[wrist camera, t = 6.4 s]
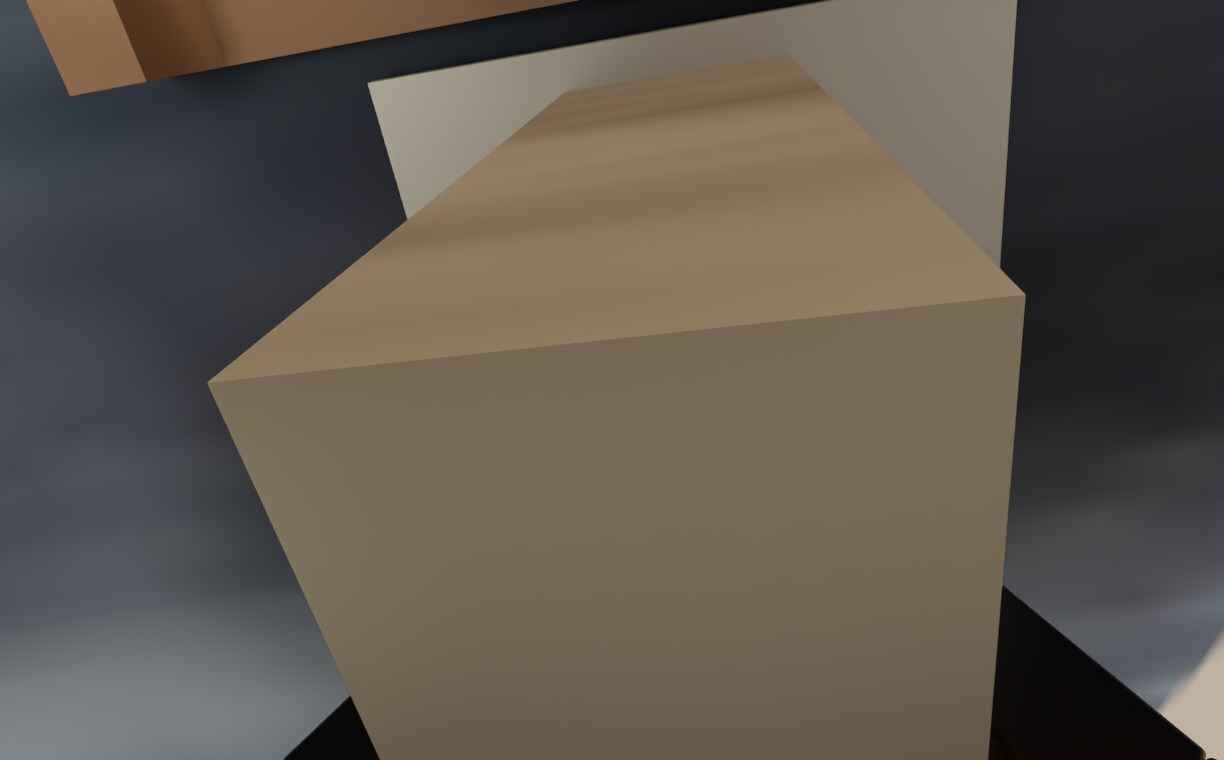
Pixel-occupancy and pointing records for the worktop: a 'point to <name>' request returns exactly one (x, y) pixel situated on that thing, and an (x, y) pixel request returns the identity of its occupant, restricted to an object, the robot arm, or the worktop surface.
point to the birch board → (654, 443)
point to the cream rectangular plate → (809, 33)
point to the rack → (225, 31)
